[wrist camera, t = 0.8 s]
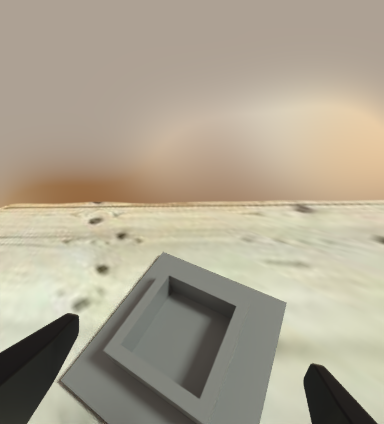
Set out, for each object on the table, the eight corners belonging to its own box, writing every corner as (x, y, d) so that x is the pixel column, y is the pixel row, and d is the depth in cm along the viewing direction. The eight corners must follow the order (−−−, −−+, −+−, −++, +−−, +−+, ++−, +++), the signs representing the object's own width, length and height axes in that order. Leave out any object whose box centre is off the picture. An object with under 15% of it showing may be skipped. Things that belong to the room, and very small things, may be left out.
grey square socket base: (232, 536, 13) (237, 550, 11) (64, 382, 20) (43, 370, 17) (284, 306, 24) (293, 287, 21) (163, 255, 30) (159, 236, 28)
